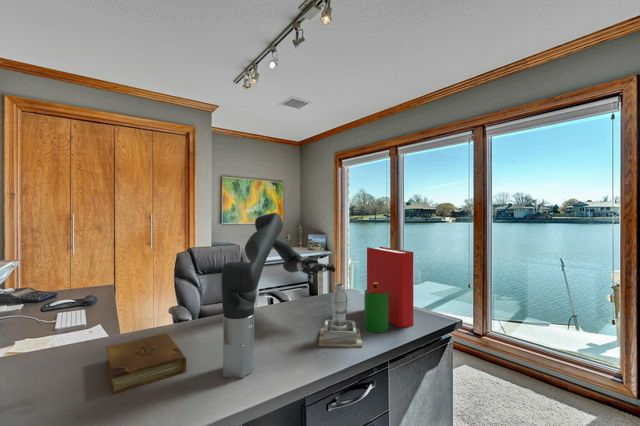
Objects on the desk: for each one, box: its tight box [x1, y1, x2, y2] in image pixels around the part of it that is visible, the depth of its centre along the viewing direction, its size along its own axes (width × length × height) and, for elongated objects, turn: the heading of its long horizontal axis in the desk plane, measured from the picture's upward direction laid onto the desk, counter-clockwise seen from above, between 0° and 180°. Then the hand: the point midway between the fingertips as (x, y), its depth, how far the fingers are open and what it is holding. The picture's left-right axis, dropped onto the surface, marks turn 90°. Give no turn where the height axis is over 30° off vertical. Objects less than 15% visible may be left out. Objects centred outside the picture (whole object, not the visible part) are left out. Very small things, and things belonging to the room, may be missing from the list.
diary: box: [105, 333, 187, 395], centre depth 96 cm, size 23×19×6 cm
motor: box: [363, 282, 390, 334], centre depth 129 cm, size 10×9×20 cm
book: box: [366, 246, 414, 328], centre depth 144 cm, size 27×8×32 cm, turn 23°
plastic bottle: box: [331, 283, 348, 331], centre depth 119 cm, size 6×7×20 cm
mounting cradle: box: [318, 319, 363, 348], centre depth 119 cm, size 16×16×5 cm
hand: (326, 270), depth 128 cm, fingers open, 8 cm apart
